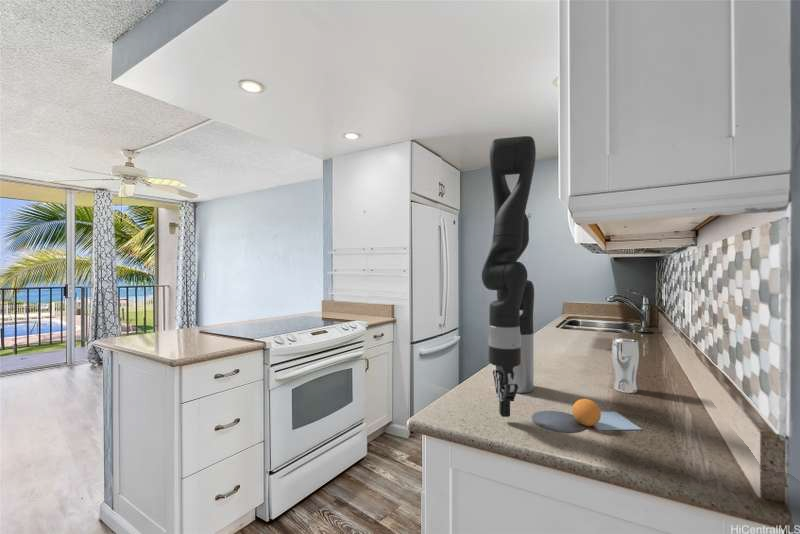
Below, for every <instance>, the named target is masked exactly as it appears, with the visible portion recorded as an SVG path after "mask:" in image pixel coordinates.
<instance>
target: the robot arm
mask: <svg viewBox="0 0 800 534" xmlns="http://www.w3.org/2000/svg"><path fill="white" fill-rule="evenodd" d="M536 150H537V149H536V142H535V140H534V137H532V136H531V135H523V136H522V135H520V136H513V137H511V136H510V137H501V138H495V139H493V140H492V141H491V144H490V146H489V167H490V175H491V176H490V177H491V183H492V184H491V185H492V191H493V201H494V202H493V205H494V206H493V207H494V208H493V209H494V224H493V233H492V243H491V247H490V248H489V252H488V255H487V257H486V259H485V262H484V263H483V267H482V271H481V281H482V284H483V286H484V287H485V288H486V289H487V290H489V291H496V300H493V301H491V302H490V304H489V313H488V314H489V315H488V316H489V328H488V363H489V364H490V365H493V366H495V369H493V370H492V375H493V380H494V387H495V393H496V395H497V397H498V399H499V401H498V402H499V404H498V405H499V410H498V412H499V415H500V416H501V417H502V418H509V417H510V416H511V402H514V401H515V397H516V395H517V393H519V394H520V393H521V394H523V393H525V394H526V393H530V392H533V390H534V386H535V385H534V375H535V374H534V373H535V372H534V370H535V369H534V305H535V287H534V283H533V282H532V281H531V280H530V279H529V280H528V270H527V268H526V266H525V265H524V263H523V262H520V261H518V260H519V259H520V257H521V256H522V255H523V253H524V252H525V250H526V249H527V247H528V245H529V242H530V225H529V224H530V222H529V217H528V215H527V214H526V209H527V204H528V201H529V195H530V193H531V192H530V191H531V186H532V182H533V176H534V170H535V166H536V165H535V164H536V157H537V156H536V155H537V152H536ZM507 175H509V176H511V175H519V176H518V179H517V181H516V184H515V186H514V188H513V190H512V191H511V190H510V187H509V186H508V183H507V178H506V176H507ZM520 311H522V313H521V312H520ZM520 313H521V314H520Z"/></svg>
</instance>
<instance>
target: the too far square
mask: <svg viewBox="0 0 800 534" xmlns="http://www.w3.org/2000/svg"><path fill="white" fill-rule="evenodd" d="M600 412H601V418H600V420H599V422H598V423H597V424H595V425H593V426H592V427H594V428H595V429H596V430H597V431H642V428H641V427H640V426H638V425H637V424H635V423H633V422H632V421H631V420H629V419H628V418H626V417H625V416H623V415H621V414H620V413H618V412H617V411H600Z"/></svg>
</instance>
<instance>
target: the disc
mask: <svg viewBox="0 0 800 534" xmlns="http://www.w3.org/2000/svg"><path fill="white" fill-rule="evenodd" d="M531 419H532V421H533V423H535V424H536V425H537V426H539V427H541V428H544V429H546V430H550V431H554V432H559V433H578V432H581V431H584V430H586V427H587V426H585V425H582V424H580V423H579V422H578V421H577V420H576V419H575V417H574V415H573V413H572V414H571V413H569V412H568V413H567V412H563V411H558V410H540V411H536V412H534V413H533V414H532V415H531Z"/></svg>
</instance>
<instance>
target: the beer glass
mask: <svg viewBox="0 0 800 534" xmlns="http://www.w3.org/2000/svg"><path fill="white" fill-rule="evenodd" d="M611 343H612V345H611V359H612V365H613V371H614V383H613V389H614V390H615V391H617V392H621V393H625V394H635V393H637V392H638V388H637V381H636V376H637V372H638V367H639V359H640V352H639V351H640V350H639V340H636V339H631V338H622V337H619V338H616V337H615V338H613V339H612V342H611Z"/></svg>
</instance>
